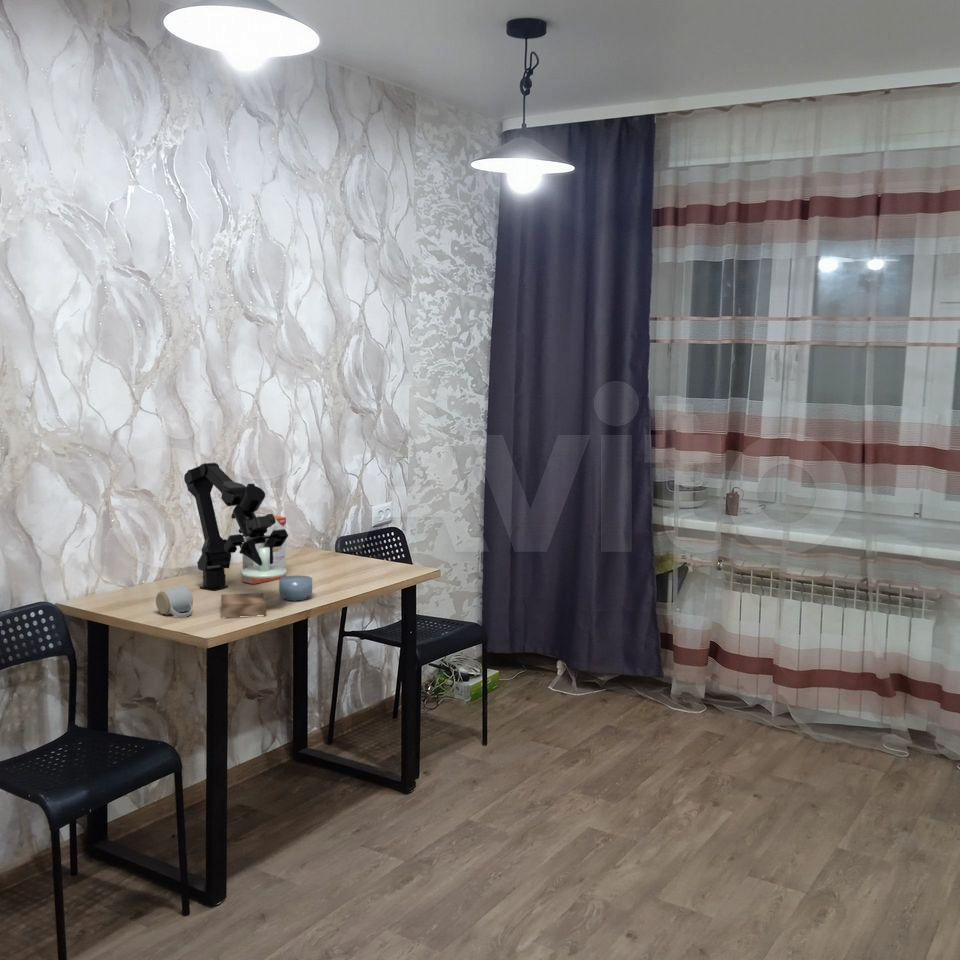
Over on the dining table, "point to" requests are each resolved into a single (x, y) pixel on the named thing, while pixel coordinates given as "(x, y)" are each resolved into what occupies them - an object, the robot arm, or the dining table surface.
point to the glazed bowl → (295, 587)
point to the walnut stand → (243, 605)
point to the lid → (264, 567)
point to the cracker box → (278, 553)
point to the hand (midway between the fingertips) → (266, 564)
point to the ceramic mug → (175, 601)
